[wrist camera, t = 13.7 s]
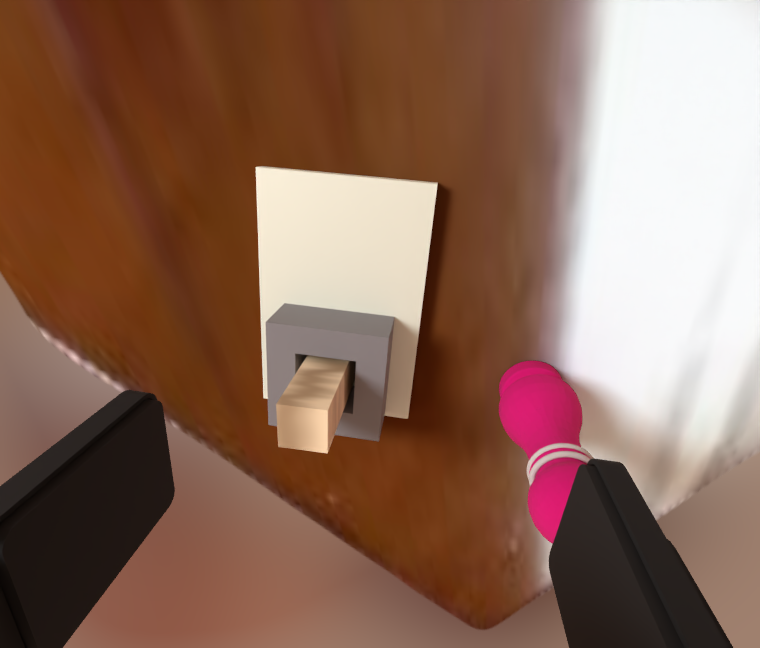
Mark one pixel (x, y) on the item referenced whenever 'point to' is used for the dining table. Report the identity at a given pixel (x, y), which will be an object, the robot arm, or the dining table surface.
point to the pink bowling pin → (544, 437)
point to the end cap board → (343, 284)
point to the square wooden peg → (314, 403)
